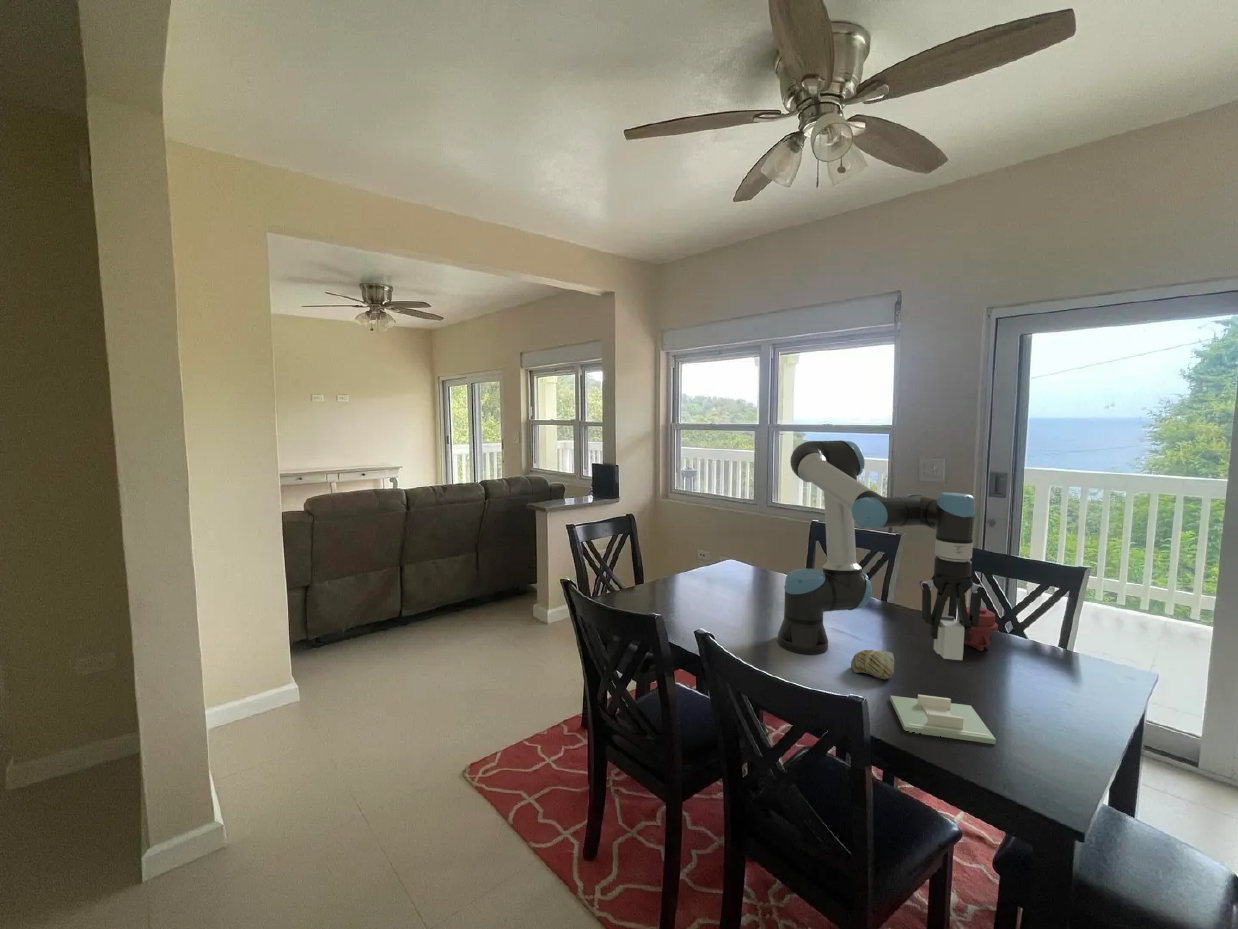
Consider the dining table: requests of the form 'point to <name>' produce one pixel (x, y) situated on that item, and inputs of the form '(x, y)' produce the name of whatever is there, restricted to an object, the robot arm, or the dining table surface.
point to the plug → (951, 638)
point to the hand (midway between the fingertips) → (948, 652)
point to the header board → (941, 718)
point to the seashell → (874, 663)
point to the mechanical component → (982, 629)
